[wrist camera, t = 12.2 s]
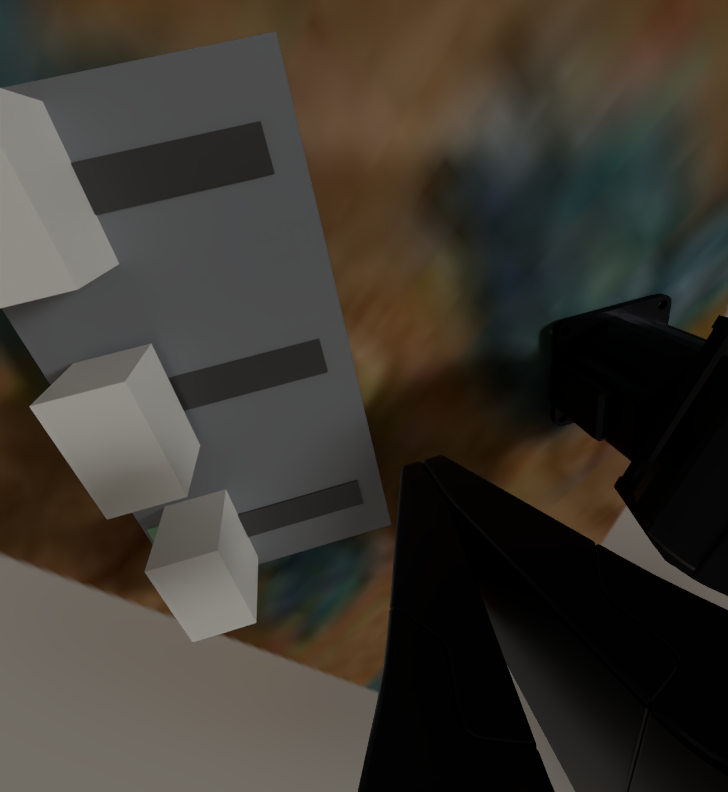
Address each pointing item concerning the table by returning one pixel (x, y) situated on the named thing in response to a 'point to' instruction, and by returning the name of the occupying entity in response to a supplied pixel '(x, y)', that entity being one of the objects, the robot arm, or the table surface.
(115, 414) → the handle
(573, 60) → the table surface
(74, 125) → the breaker panel
